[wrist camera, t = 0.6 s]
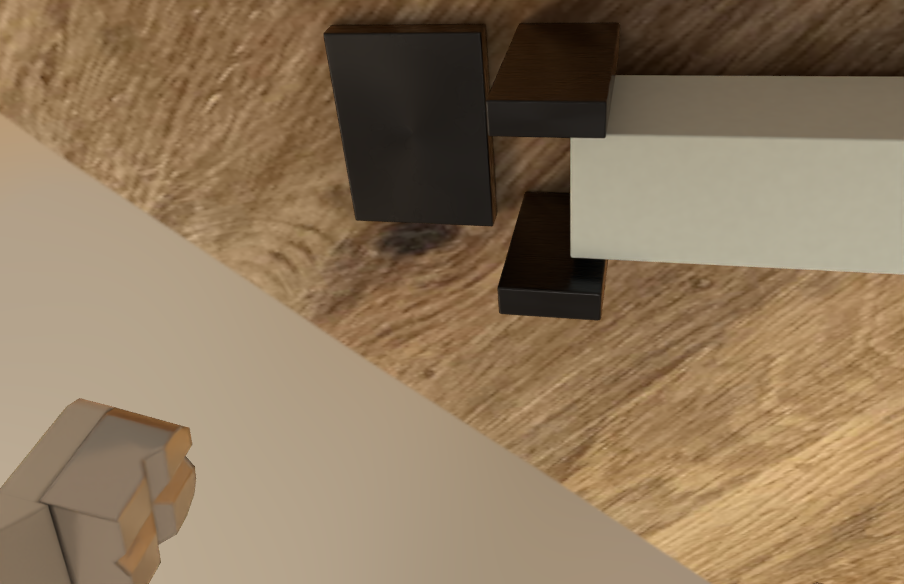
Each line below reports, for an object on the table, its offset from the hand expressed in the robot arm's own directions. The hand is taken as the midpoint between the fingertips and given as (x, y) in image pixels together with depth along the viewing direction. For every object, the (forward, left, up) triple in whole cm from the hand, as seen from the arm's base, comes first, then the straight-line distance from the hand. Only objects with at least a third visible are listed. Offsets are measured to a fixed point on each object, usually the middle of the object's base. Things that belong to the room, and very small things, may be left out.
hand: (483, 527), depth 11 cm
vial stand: (+3, -4, -18) cm, 19 cm away
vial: (+3, +8, -18) cm, 20 cm away
